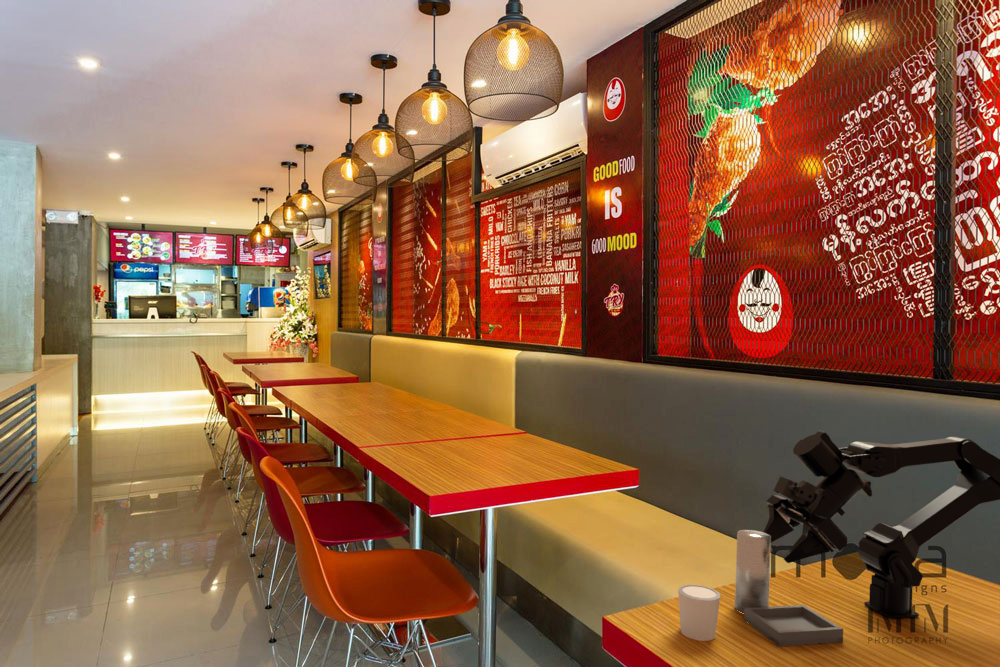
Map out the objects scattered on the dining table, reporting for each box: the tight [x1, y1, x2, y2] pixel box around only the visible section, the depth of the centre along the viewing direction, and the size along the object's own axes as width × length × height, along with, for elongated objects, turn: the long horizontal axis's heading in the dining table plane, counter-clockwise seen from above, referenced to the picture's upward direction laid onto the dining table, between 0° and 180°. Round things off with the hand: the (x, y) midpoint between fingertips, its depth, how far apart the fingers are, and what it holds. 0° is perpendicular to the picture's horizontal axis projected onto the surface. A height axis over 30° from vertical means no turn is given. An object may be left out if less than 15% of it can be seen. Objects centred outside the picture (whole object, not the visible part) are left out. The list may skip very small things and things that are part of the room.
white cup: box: [677, 584, 721, 642], centre depth 108 cm, size 7×7×7 cm
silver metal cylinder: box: [734, 529, 772, 614], centre depth 119 cm, size 6×6×14 cm
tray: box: [743, 604, 844, 647], centre depth 111 cm, size 12×10×2 cm
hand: (772, 552), depth 119 cm, fingers open, 9 cm apart
